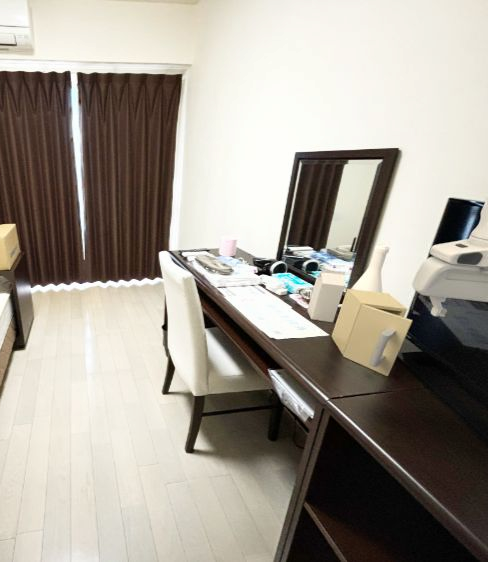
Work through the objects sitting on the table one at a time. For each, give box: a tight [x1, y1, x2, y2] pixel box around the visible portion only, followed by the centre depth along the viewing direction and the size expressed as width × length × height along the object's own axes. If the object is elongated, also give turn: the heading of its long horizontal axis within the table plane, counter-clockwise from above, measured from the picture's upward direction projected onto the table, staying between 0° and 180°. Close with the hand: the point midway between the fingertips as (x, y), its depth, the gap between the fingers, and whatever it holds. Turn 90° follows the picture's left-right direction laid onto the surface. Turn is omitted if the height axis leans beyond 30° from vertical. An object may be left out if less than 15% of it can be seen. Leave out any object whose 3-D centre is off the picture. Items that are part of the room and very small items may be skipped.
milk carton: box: [307, 269, 346, 323], centre depth 113 cm, size 7×7×19 cm
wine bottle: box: [350, 244, 390, 293], centre depth 107 cm, size 10×10×30 cm
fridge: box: [331, 288, 408, 356], centre depth 94 cm, size 11×11×18 cm
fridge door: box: [342, 305, 413, 377], centre depth 85 cm, size 6×11×18 cm, turn 35°
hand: (465, 318), depth 62 cm, fingers open, 8 cm apart
